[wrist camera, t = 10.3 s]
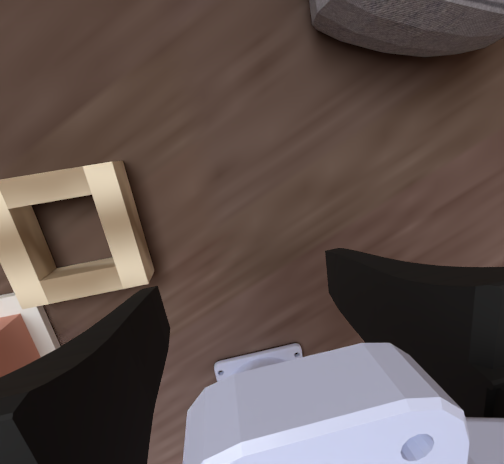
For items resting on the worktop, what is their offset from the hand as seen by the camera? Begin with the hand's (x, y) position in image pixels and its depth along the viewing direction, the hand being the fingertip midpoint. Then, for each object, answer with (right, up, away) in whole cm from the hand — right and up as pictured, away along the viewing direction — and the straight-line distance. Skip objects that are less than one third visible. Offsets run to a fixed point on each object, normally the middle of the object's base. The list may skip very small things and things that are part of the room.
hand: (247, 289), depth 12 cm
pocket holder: (-12, +3, +8) cm, 15 cm away
